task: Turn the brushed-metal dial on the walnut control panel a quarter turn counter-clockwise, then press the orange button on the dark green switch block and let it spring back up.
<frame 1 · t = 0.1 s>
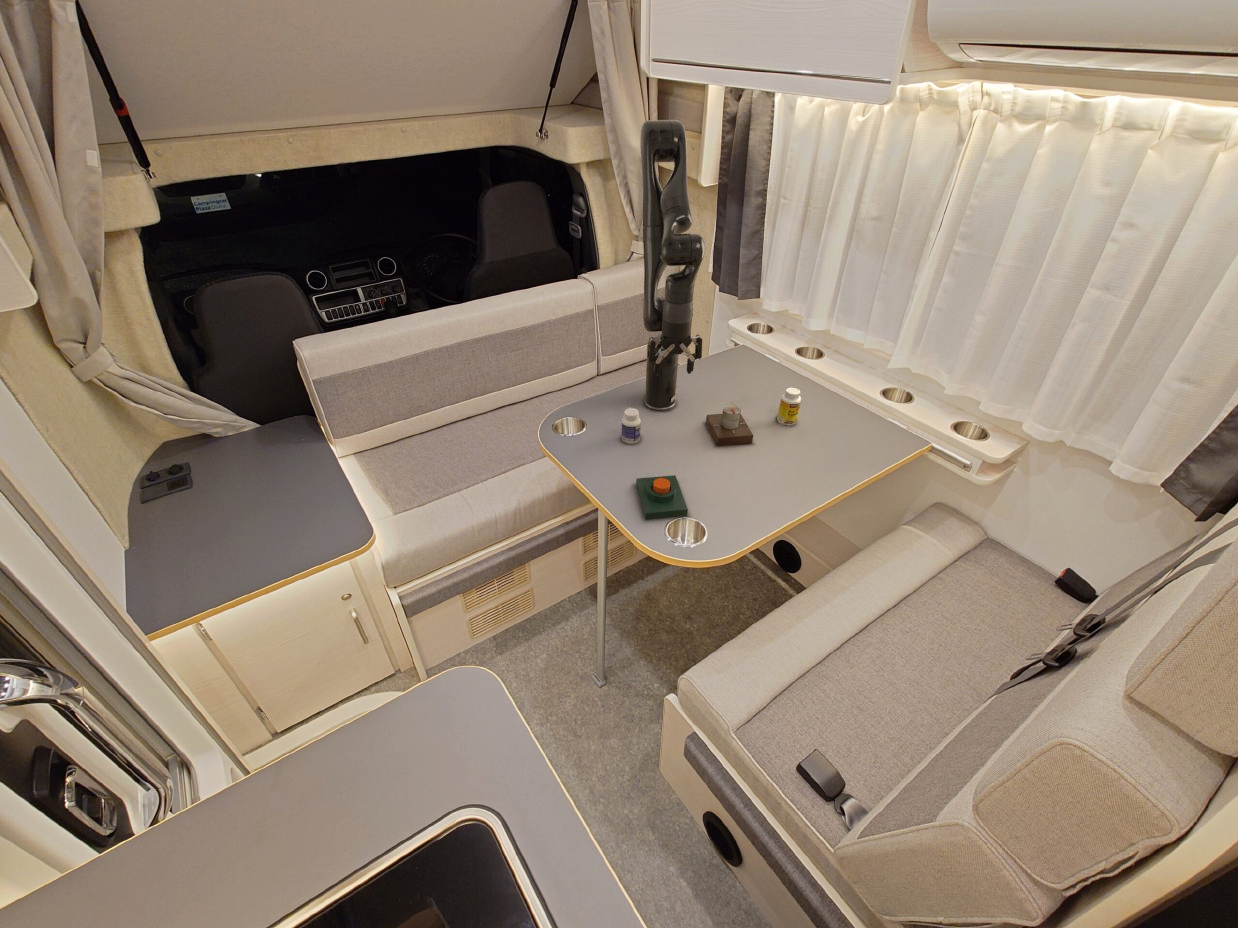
hand: (673, 373, 152), 17 cm above the table, tool pointing down, fingers open, 8 cm apart
supplement bottle: (786, 421, 165), on the table
button: (661, 485, 133), point 4 cm above the table, slide at 0.1 cm
dial panel: (728, 433, 159), on the table
dial: (730, 416, 156), point 6 cm above the table, hinge at 0.0°
pill bottle: (630, 439, 157), on the table
switch block: (660, 500, 136), on the table
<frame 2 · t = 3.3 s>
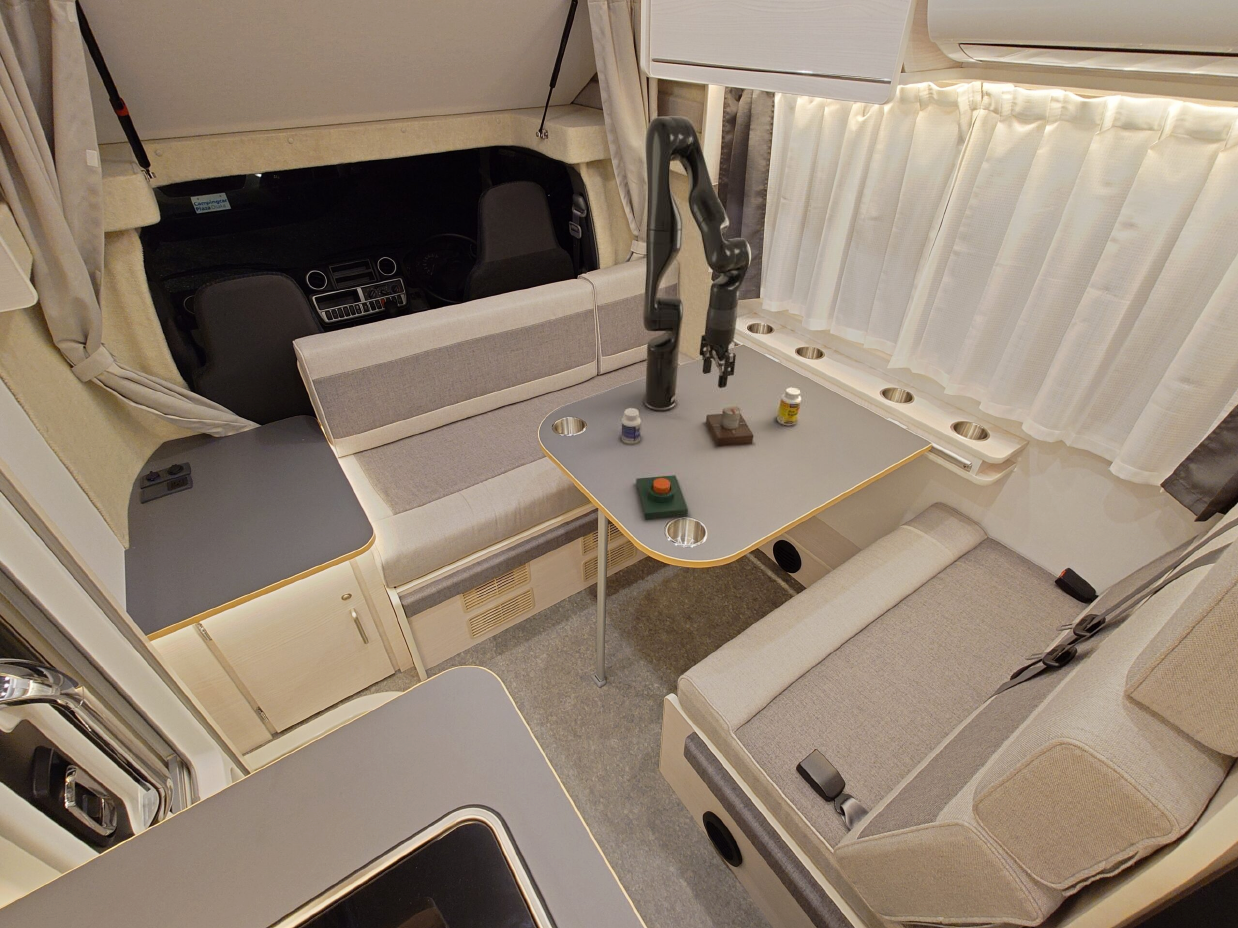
hand: (714, 379, 150), 17 cm above the table, tool pointing down, fingers open, 8 cm apart
nothing on the table moved.
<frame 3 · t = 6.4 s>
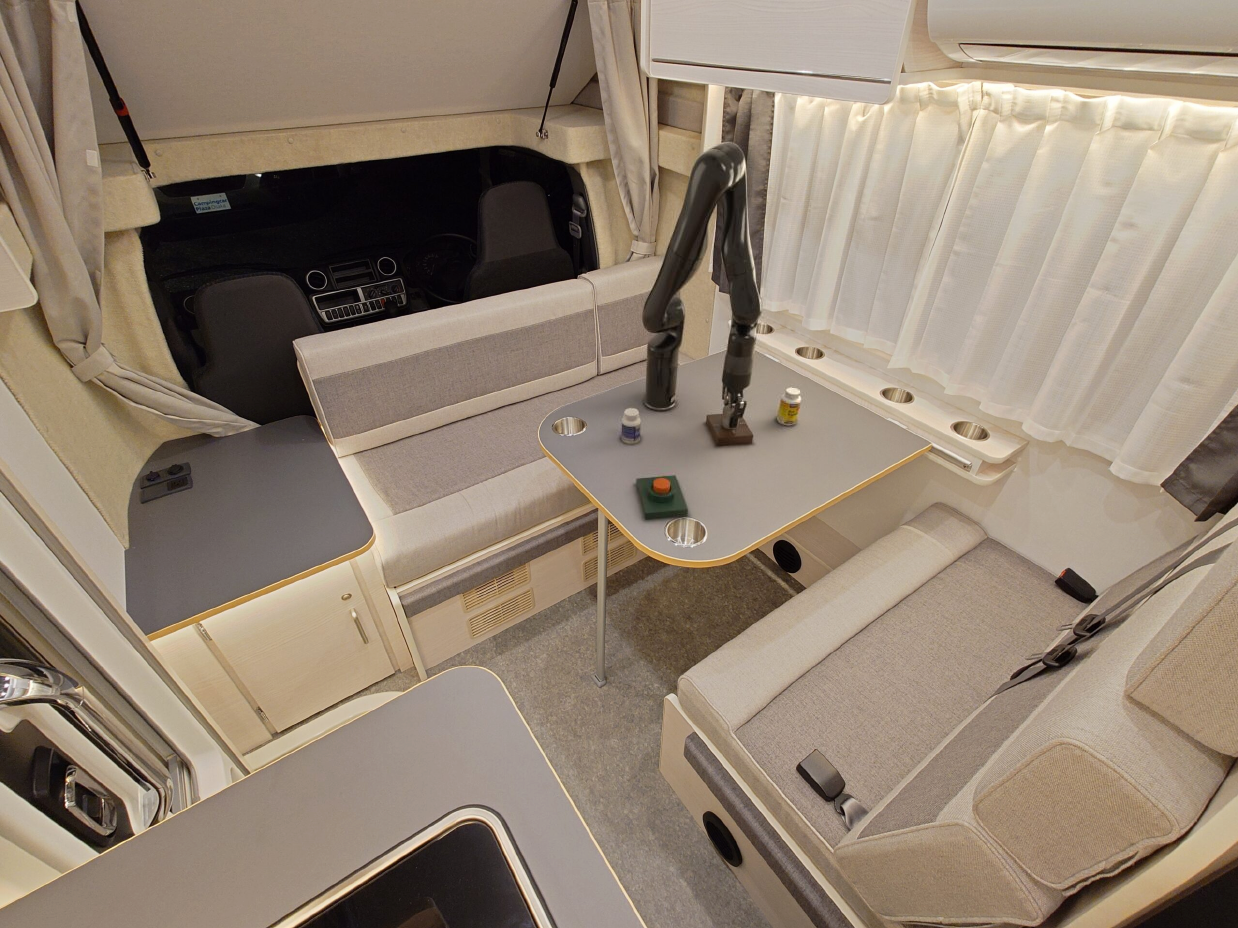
hand: (729, 421, 157), 4 cm above the table, tool pointing down, fingers closed on dial, 5 cm apart
dial: (730, 416, 156), point 6 cm above the table, hinge at 0.2°, touching gripper
everything else where it was.
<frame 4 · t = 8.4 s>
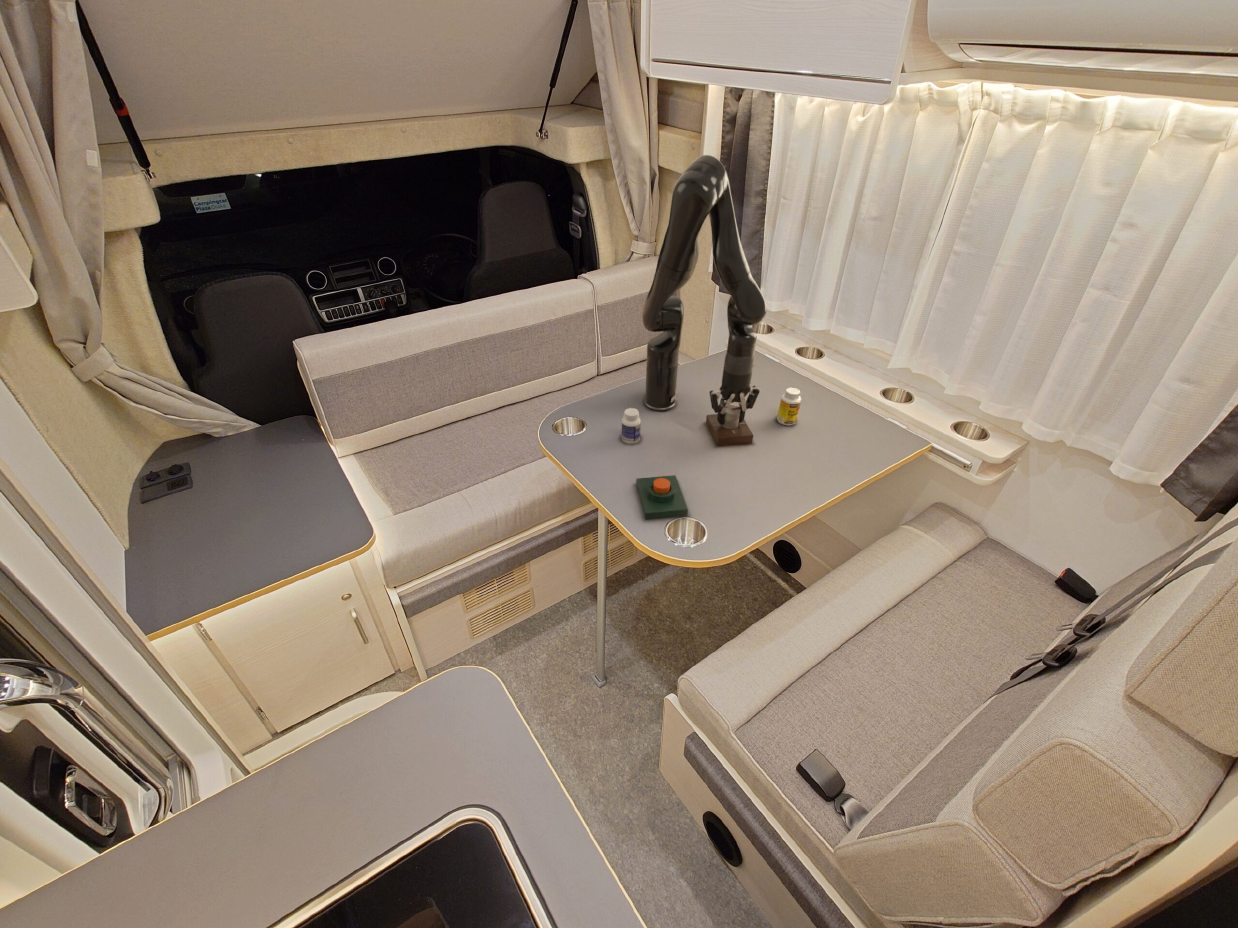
hand: (730, 422, 157), 4 cm above the table, tool pointing down, fingers closed on dial, 5 cm apart
dial: (730, 416, 156), point 6 cm above the table, hinge at 99.3°, touching gripper
everything else where it was.
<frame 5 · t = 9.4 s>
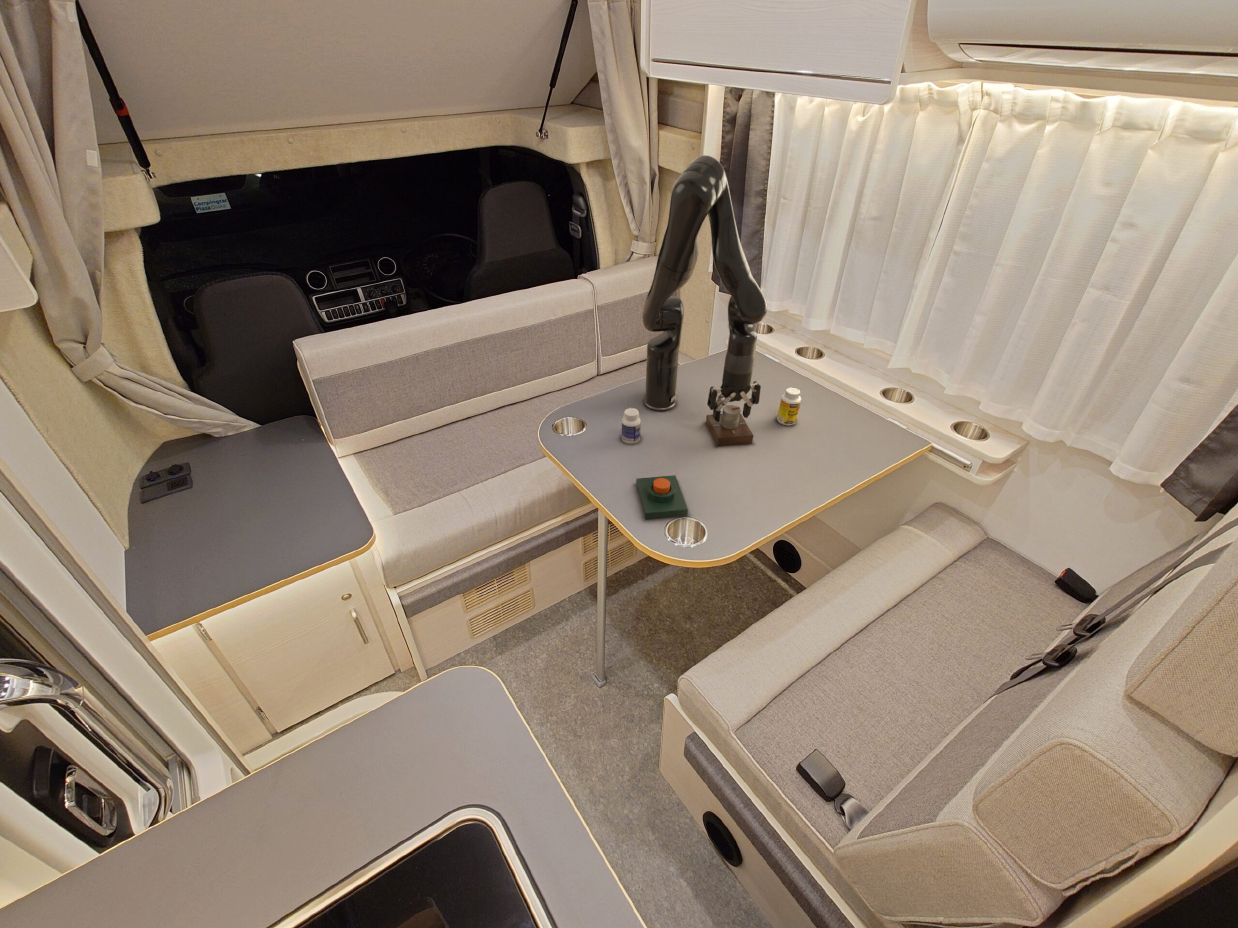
hand: (730, 418, 156), 5 cm above the table, tool pointing down, fingers open, 8 cm apart
dial: (730, 416, 156), point 6 cm above the table, hinge at 98.4°
everything else where it was.
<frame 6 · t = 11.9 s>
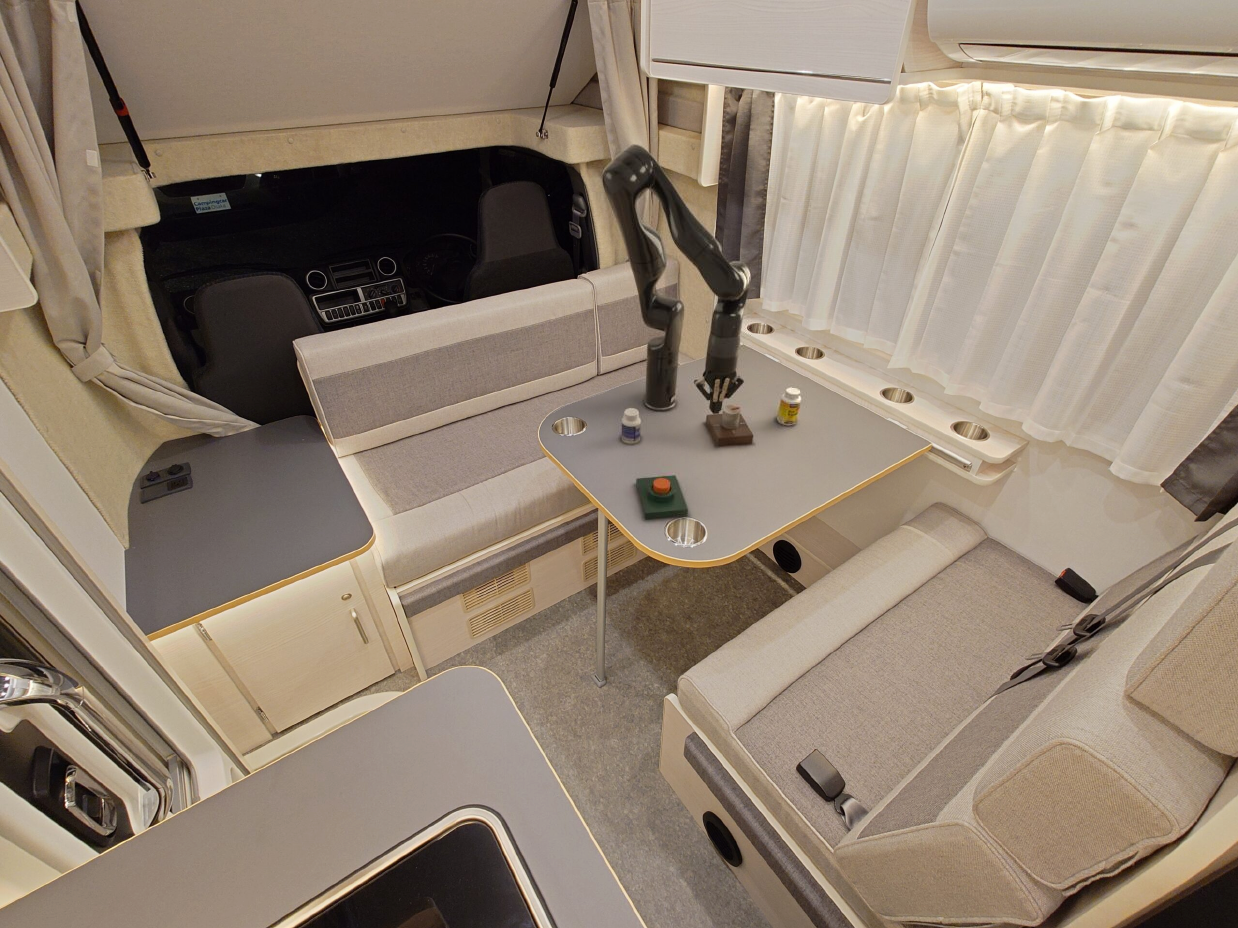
hand: (714, 412, 144), 13 cm above the table, tool pointing down, fingers closed
nothing on the table moved.
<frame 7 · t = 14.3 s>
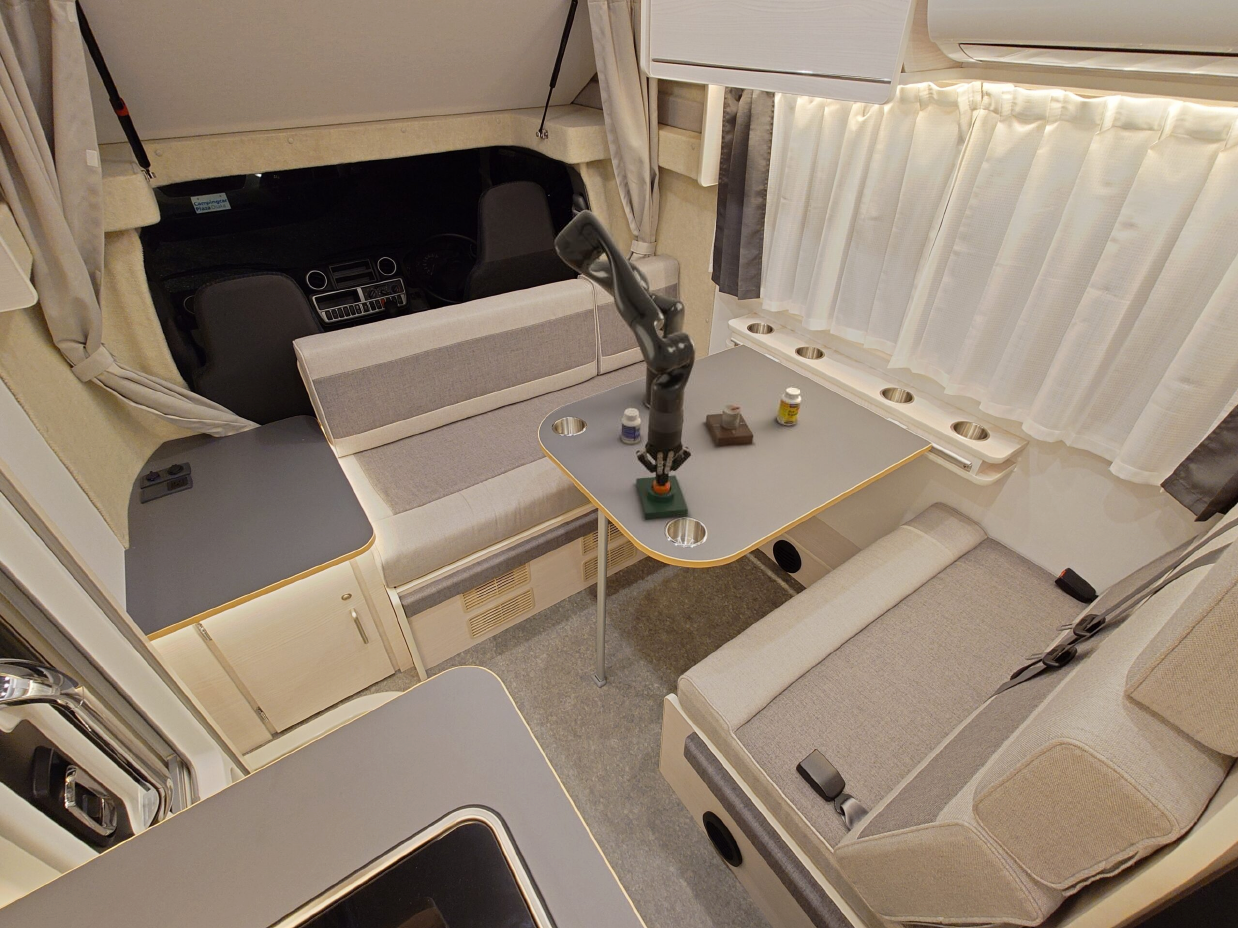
hand: (661, 483, 133), 5 cm above the table, tool pointing down, fingers closed
button: (661, 486, 133), point 4 cm above the table, slide at 0.0 cm, touching gripper
everything else where it was.
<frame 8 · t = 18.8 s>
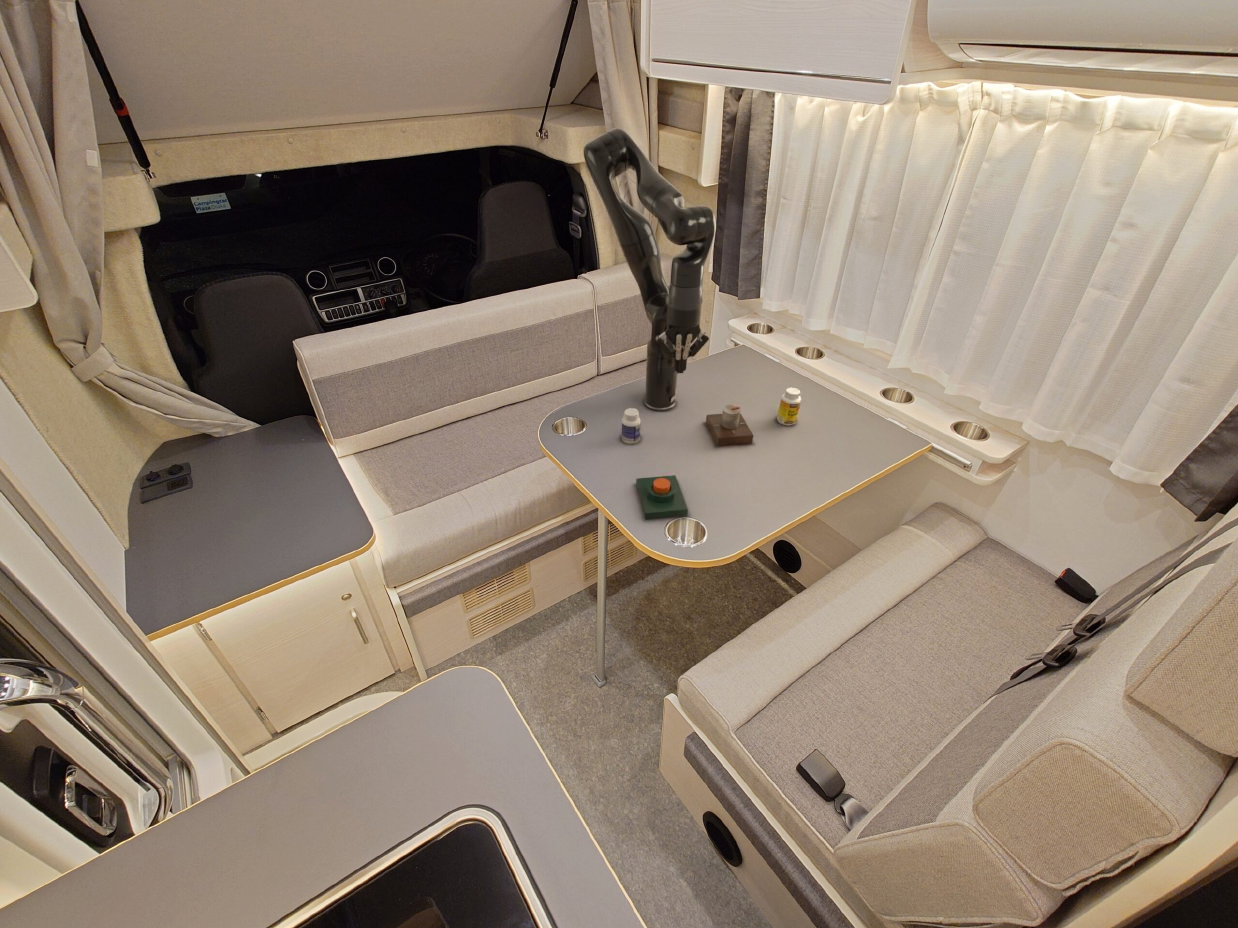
hand: (679, 371, 136), 25 cm above the table, tool pointing down, fingers closed
button: (661, 485, 133), point 4 cm above the table, slide at 0.1 cm
everything else where it was.
at the end: dial at +98° (first picture: +0°); button pushed in 1.1 cm at the most during the clip, back to where it started at the end; button slide at 0.1 cm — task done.
